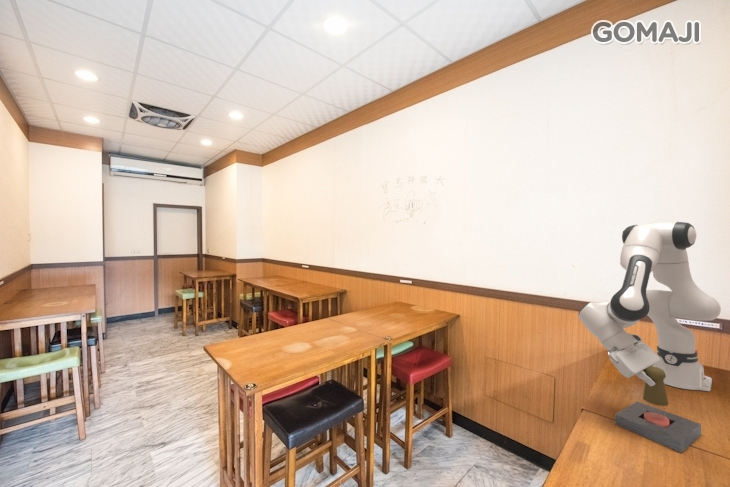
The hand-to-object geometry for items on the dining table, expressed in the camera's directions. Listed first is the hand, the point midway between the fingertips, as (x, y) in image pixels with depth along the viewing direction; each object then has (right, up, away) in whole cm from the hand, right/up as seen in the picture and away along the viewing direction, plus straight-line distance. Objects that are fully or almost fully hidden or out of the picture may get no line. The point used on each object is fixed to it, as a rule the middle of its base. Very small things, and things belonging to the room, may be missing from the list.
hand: (658, 382), depth 98 cm
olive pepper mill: (0, -6, +1) cm, 7 cm away
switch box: (0, -16, 0) cm, 16 cm away
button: (0, -16, 0) cm, 15 cm away
